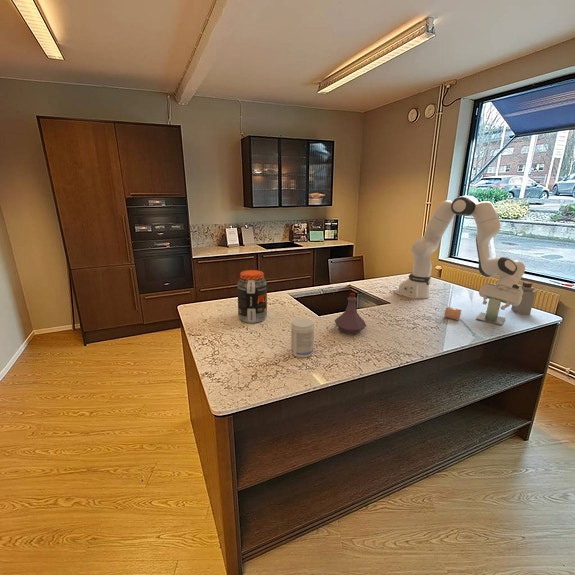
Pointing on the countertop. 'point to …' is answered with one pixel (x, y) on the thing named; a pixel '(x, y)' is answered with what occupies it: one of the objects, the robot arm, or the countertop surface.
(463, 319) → the countertop surface
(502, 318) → the plate
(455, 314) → the tan rounded cylinder
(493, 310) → the pale green rounded cylinder
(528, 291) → the perfume bottle
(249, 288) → the supplement tub
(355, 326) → the flask
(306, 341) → the supplement tub
